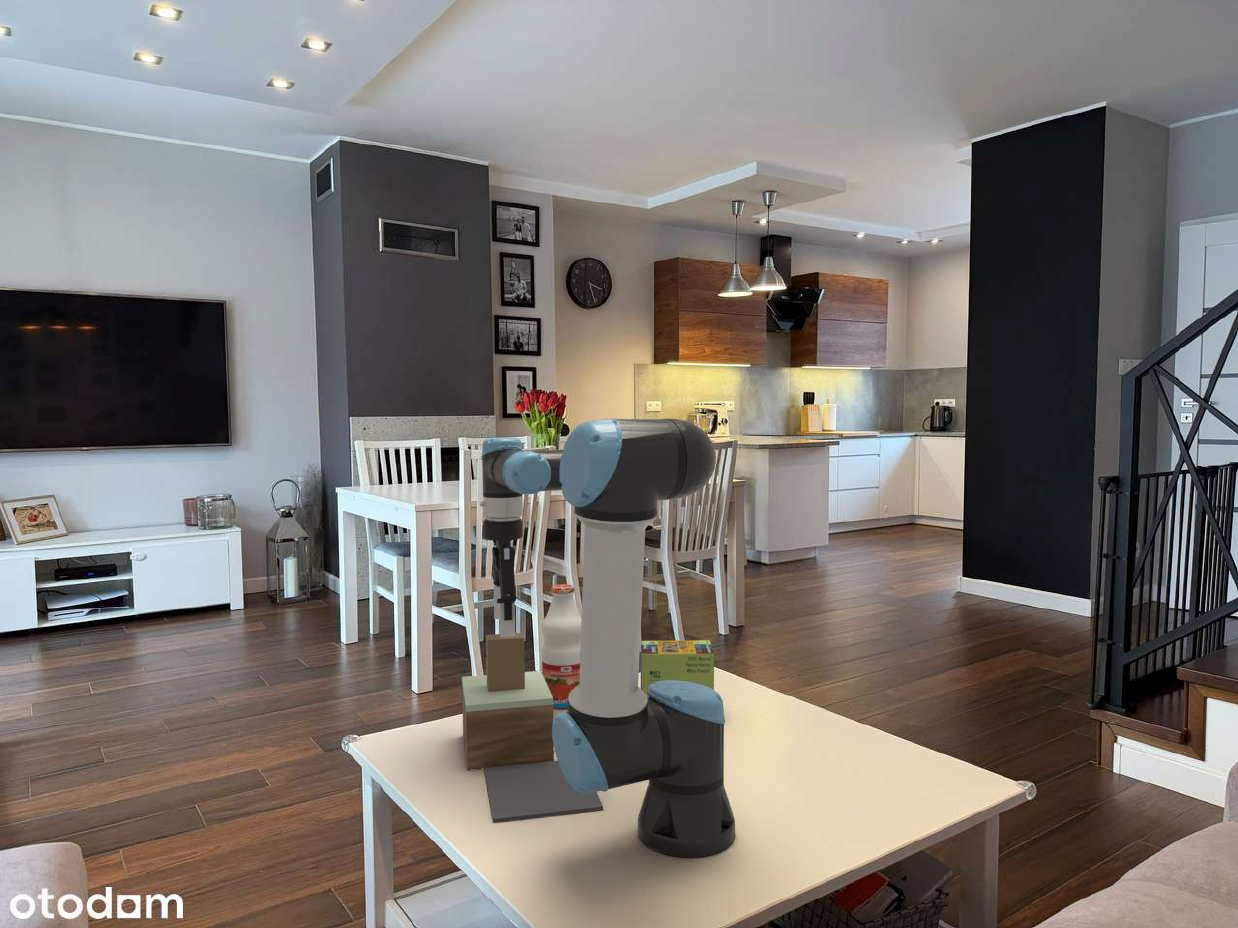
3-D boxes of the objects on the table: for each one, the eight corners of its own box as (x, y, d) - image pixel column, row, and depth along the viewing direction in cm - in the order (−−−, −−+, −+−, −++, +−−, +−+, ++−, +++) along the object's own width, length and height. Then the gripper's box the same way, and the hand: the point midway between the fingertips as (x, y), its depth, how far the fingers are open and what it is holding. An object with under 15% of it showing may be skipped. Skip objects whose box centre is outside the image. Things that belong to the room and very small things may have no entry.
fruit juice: (585, 705, 190) (584, 581, 188) (586, 720, 180) (585, 590, 179) (542, 706, 189) (541, 582, 187) (542, 722, 180) (540, 591, 178)
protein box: (715, 726, 177) (715, 653, 176) (640, 726, 177) (640, 653, 176) (710, 708, 187) (710, 639, 186) (640, 709, 187) (639, 639, 186)
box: (553, 761, 160) (553, 704, 159) (467, 770, 156) (466, 711, 155) (541, 728, 176) (540, 676, 175) (463, 735, 173) (462, 682, 172)
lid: (553, 704, 159) (552, 645, 158) (466, 711, 155) (465, 651, 155) (540, 676, 175) (540, 622, 175) (462, 682, 172) (460, 628, 171)
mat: (603, 809, 140) (603, 806, 140) (493, 822, 136) (493, 818, 136) (581, 761, 160) (581, 758, 160) (484, 770, 156) (484, 767, 156)
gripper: (478, 510, 174) (480, 612, 176) (488, 528, 150) (489, 646, 152) (515, 509, 176) (516, 610, 178) (530, 526, 152) (531, 643, 153)
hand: (504, 627), depth 165 cm, fingers open, 13 cm apart
